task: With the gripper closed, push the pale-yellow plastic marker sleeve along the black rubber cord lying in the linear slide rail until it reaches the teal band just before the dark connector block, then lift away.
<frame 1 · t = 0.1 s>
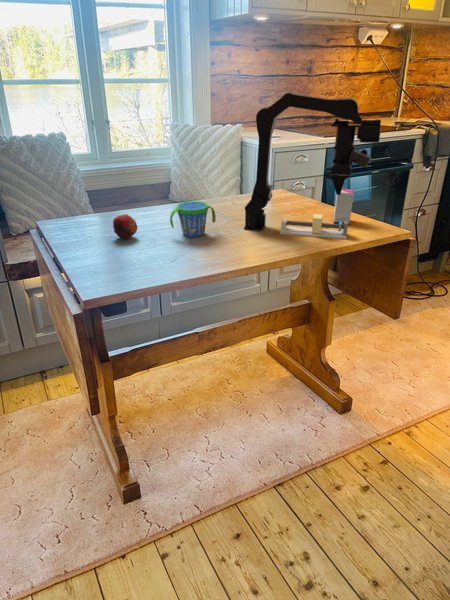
hand: (339, 191, 153), 15 cm above the table, fingers open, 9 cm apart
marker sleeve: (317, 223, 157), point 4 cm above the table, slide at 0.0 cm
snack cup: (193, 234, 160), on the table
supplement box: (341, 222, 171), on the table
fruit: (126, 238, 156), on the table
linear slide rail: (313, 233, 159), on the table
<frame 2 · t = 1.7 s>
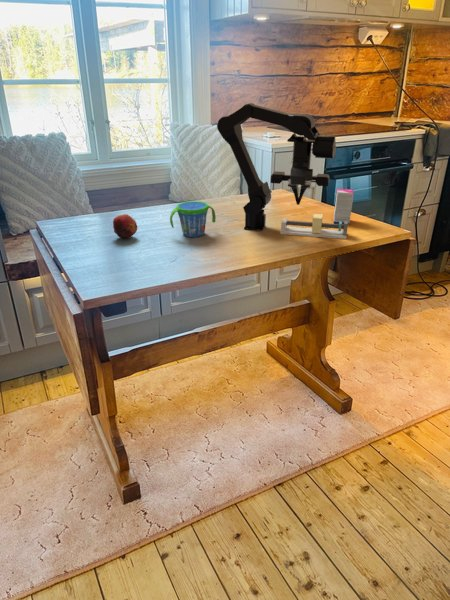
hand: (298, 204, 156), 10 cm above the table, fingers closed
nothing on the table moved.
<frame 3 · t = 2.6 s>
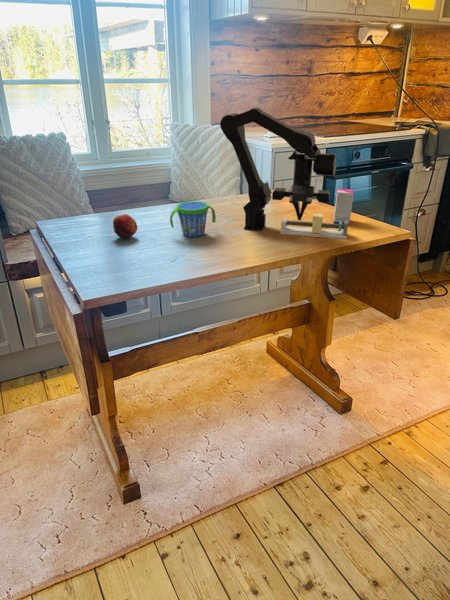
hand: (299, 220, 158), 4 cm above the table, fingers closed
nothing on the table moved.
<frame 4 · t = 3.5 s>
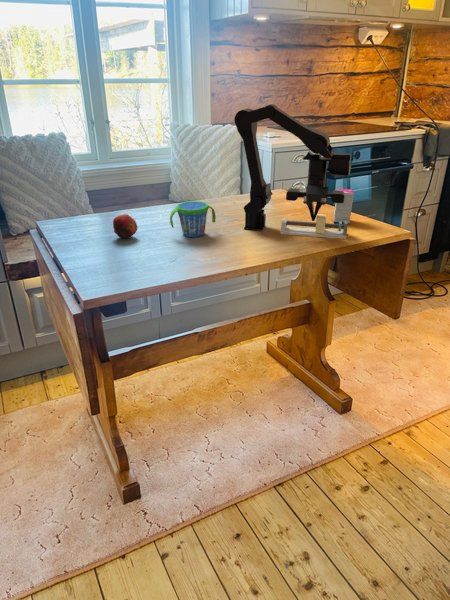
hand: (313, 220, 157), 5 cm above the table, fingers closed
marker sleeve: (320, 223, 157), point 4 cm above the table, slide at 1.2 cm, touching gripper
everything else where it was.
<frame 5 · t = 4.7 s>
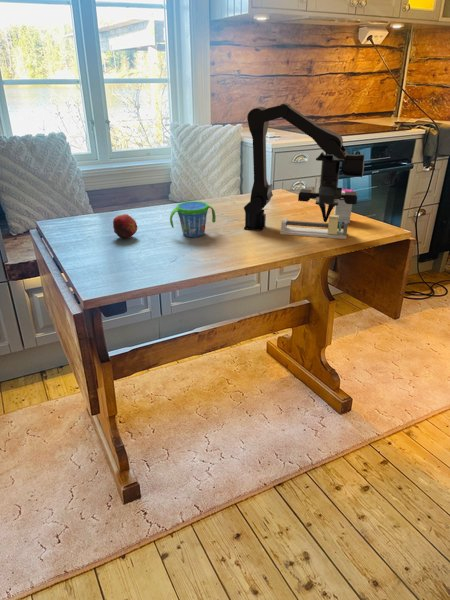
hand: (325, 221, 156), 4 cm above the table, fingers closed
marker sleeve: (333, 224, 156), point 4 cm above the table, slide at 5.3 cm, touching gripper
everything else where it was.
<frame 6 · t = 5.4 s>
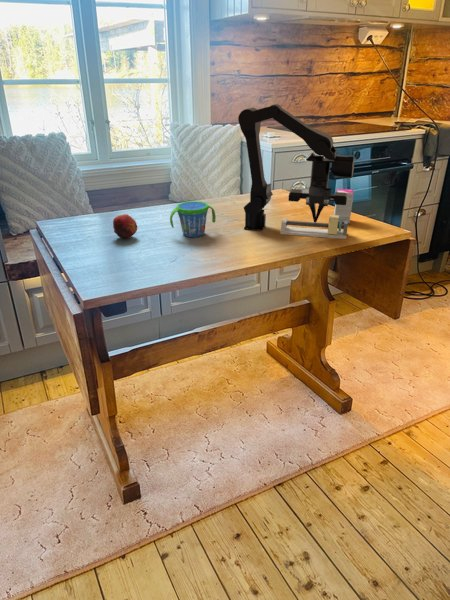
hand: (315, 221, 157), 4 cm above the table, fingers closed
marker sleeve: (333, 224, 156), point 4 cm above the table, slide at 5.3 cm
everything else where it was.
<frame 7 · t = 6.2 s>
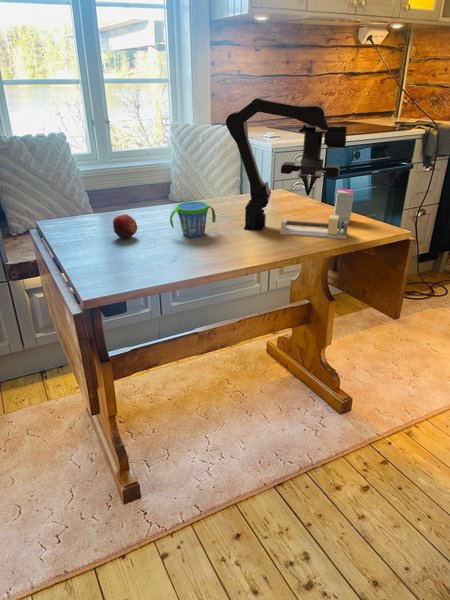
hand: (307, 195, 157), 12 cm above the table, fingers closed
nothing on the table moved.
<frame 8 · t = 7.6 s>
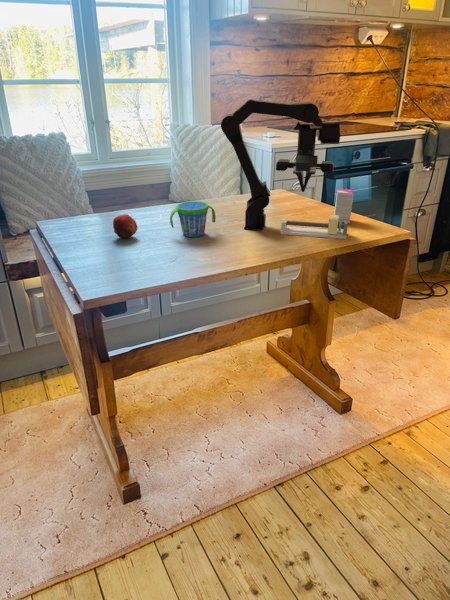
hand: (303, 191, 159), 13 cm above the table, fingers closed
nothing on the table moved.
at the end: marker sleeve slide at 5.3 cm; marker sleeve touching nothing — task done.
